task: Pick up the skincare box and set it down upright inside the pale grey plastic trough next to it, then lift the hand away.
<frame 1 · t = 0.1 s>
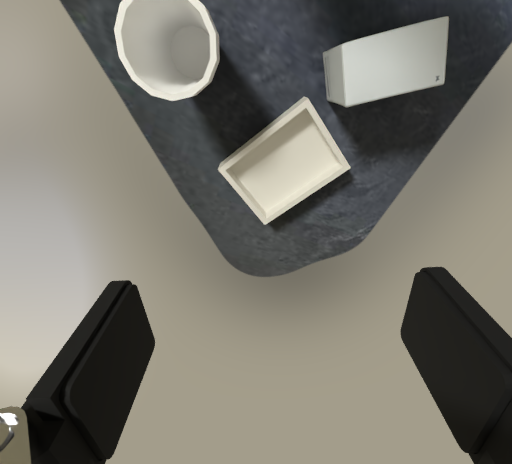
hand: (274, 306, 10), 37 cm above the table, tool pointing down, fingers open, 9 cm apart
skincare box: (362, 67, 39), on the table
trough: (282, 162, 45), on the table
foam cup: (194, 53, 38), on the table
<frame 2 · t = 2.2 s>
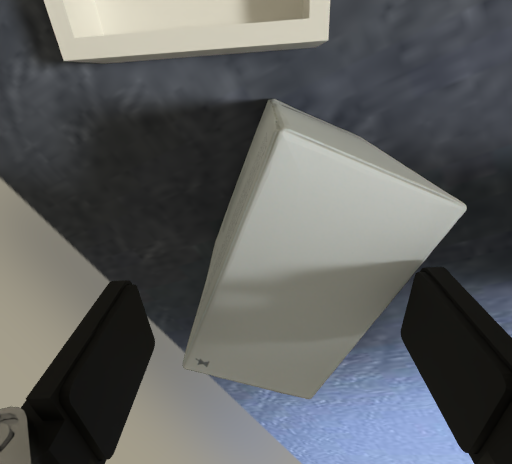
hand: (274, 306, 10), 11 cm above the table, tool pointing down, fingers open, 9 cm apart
skincare box: (283, 193, 19), on the table, touching gripper
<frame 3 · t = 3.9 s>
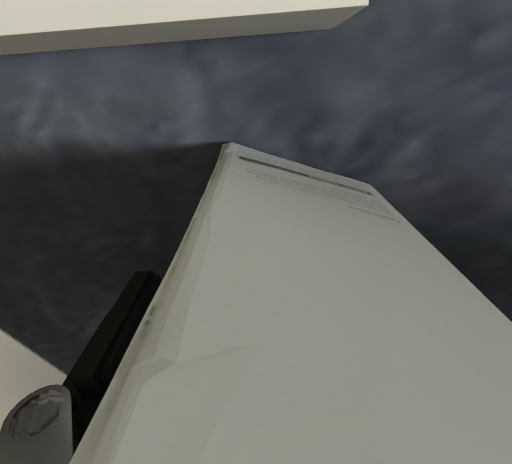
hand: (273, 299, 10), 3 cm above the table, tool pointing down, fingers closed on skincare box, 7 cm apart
skincare box: (265, 264, 14), on the table, touching gripper
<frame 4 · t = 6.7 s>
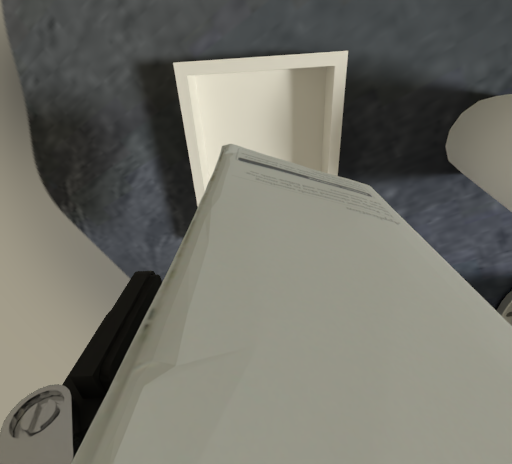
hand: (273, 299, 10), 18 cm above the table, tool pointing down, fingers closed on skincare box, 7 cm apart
skincare box: (265, 265, 14), point 14 cm above the table, touching gripper
trough: (264, 160, 26), on the table
foam cup: (482, 136, 25), on the table
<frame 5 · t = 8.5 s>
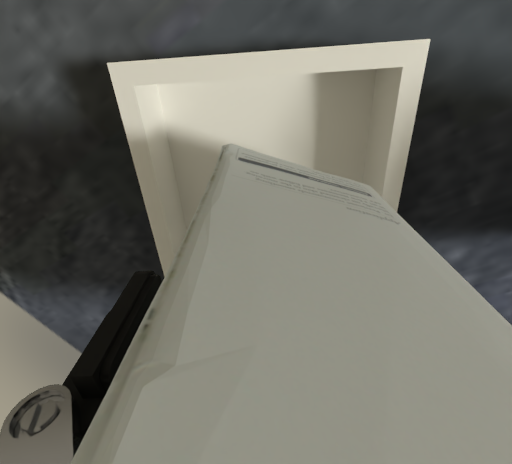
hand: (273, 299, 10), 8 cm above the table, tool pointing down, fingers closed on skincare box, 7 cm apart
skincare box: (265, 265, 14), point 4 cm above the table, touching gripper
trough: (270, 209, 17), on the table
when the fingers open (6 cm above the table, at t = 10.1 s): skincare box stays where it is, resting on trough.
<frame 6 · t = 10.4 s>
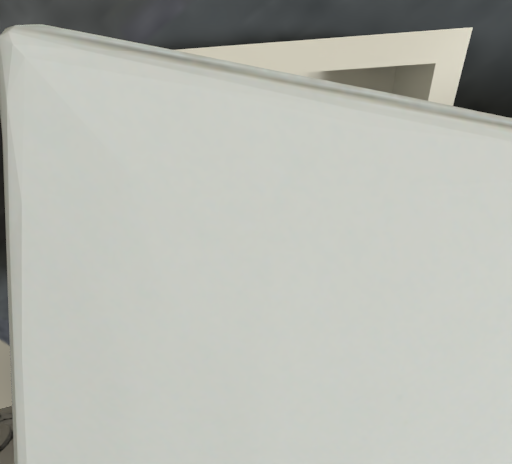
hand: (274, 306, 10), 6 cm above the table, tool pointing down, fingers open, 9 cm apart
skincare box: (252, 262, 14), point 2 cm above the table, touching trough
trough: (269, 227, 15), on the table
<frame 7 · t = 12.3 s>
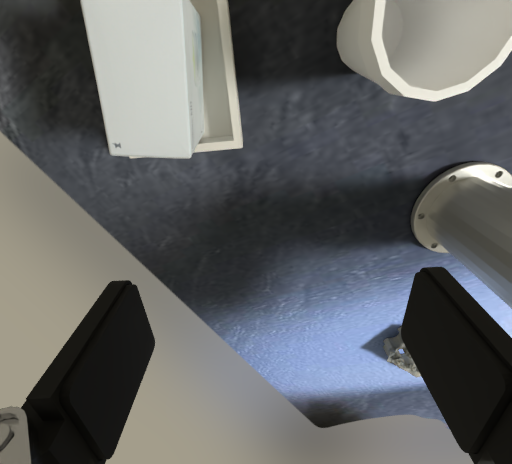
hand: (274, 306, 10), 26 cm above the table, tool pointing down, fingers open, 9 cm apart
skincare box: (173, 77, 28), point 1 cm above the table, touching trough
trough: (176, 65, 28), on the table
foam cup: (368, 34, 28), on the table
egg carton: (409, 342, 51), on the table
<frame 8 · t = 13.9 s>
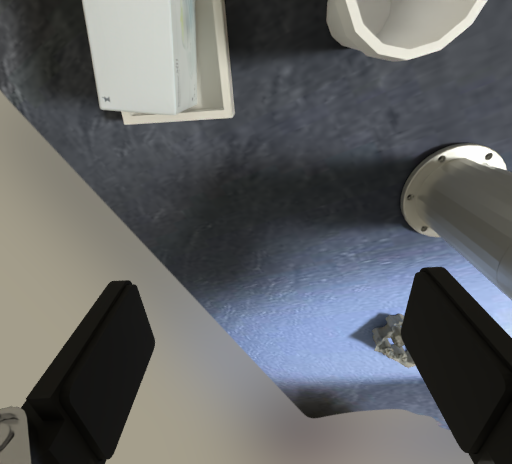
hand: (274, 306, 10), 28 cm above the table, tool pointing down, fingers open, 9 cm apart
skincare box: (169, 47, 30), point 1 cm above the table, touching trough
trough: (171, 36, 30), on the table
foam cup: (357, 10, 29), on the table
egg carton: (400, 332, 51), on the table
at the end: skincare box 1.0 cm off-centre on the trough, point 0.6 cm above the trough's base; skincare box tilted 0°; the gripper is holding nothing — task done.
